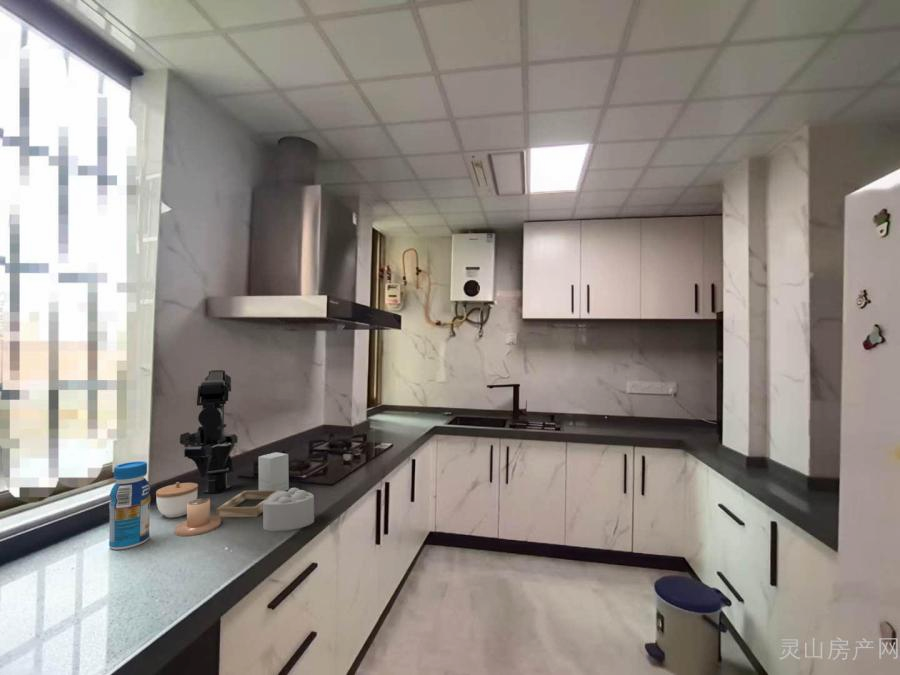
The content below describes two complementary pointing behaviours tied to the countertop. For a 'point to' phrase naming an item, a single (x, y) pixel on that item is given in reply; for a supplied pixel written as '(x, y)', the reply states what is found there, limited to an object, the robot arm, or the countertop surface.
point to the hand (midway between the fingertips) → (212, 472)
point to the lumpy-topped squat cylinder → (288, 510)
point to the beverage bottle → (129, 506)
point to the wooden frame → (232, 511)
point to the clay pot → (198, 512)
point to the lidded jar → (176, 498)
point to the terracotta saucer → (186, 531)
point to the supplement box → (273, 472)
